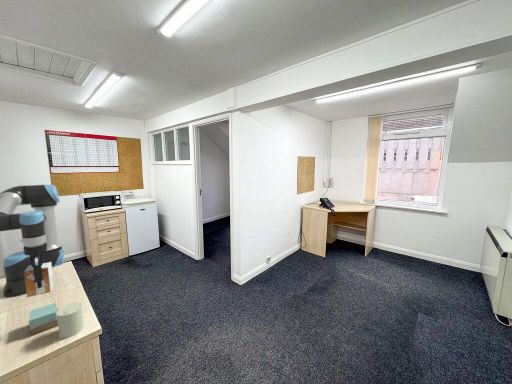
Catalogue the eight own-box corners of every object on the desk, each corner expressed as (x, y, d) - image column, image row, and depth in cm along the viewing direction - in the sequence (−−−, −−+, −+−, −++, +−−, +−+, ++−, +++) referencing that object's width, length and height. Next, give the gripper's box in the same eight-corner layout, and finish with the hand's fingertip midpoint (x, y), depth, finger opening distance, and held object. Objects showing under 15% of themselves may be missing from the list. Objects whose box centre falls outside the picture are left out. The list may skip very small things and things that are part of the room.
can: (54, 340, 95) (51, 317, 93) (63, 326, 103) (61, 304, 102) (80, 334, 99) (77, 311, 97) (86, 321, 107) (84, 299, 105)
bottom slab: (31, 325, 104) (30, 317, 103) (59, 315, 111) (58, 308, 110) (30, 337, 97) (29, 329, 96) (60, 326, 104) (59, 318, 103)
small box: (27, 297, 96) (23, 271, 94) (31, 290, 102) (28, 265, 100) (51, 292, 101) (48, 267, 99) (54, 285, 106) (51, 261, 104)
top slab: (31, 317, 103) (30, 310, 103) (56, 309, 109) (56, 302, 109) (29, 328, 97) (28, 321, 96) (56, 319, 103) (55, 312, 102)
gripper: (24, 240, 102) (30, 283, 105) (21, 253, 88) (28, 303, 91) (46, 236, 107) (51, 278, 111) (46, 248, 93) (52, 295, 97)
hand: (40, 289), depth 101 cm, fingers closed on small box, 7 cm apart
